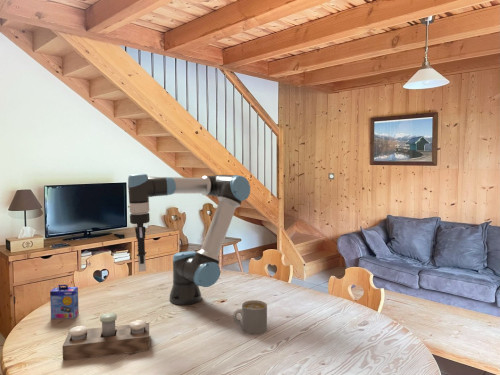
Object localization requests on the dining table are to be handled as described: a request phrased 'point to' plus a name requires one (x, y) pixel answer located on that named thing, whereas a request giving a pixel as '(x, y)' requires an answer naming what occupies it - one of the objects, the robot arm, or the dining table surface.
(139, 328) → the knob
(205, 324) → the dining table surface
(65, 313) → the ink cartridge box
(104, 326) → the knob middle
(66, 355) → the panel
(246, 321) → the coffee mug
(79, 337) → the knob
